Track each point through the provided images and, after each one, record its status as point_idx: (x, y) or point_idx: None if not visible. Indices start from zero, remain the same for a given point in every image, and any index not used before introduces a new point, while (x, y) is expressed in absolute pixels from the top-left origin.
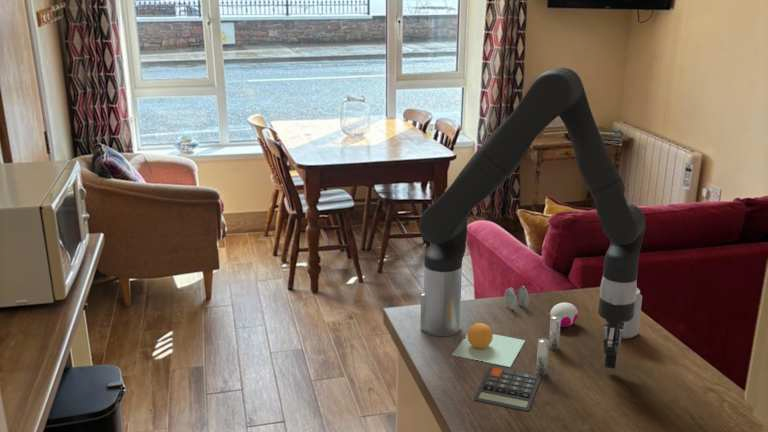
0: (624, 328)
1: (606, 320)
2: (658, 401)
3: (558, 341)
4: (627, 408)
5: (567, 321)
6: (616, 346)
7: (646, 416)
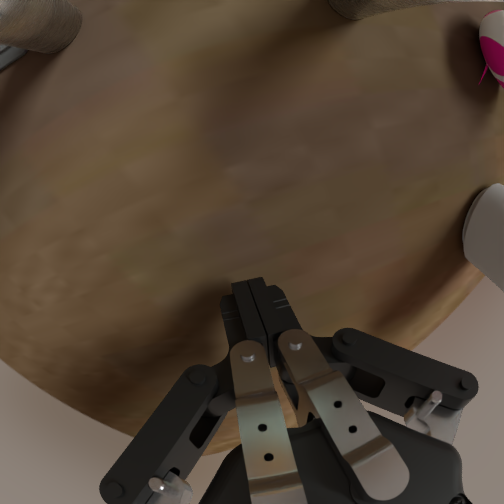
0: (483, 253)
1: (384, 499)
2: (161, 401)
3: (368, 7)
4: (71, 369)
5: (499, 63)
6: (195, 459)
7: (81, 396)
